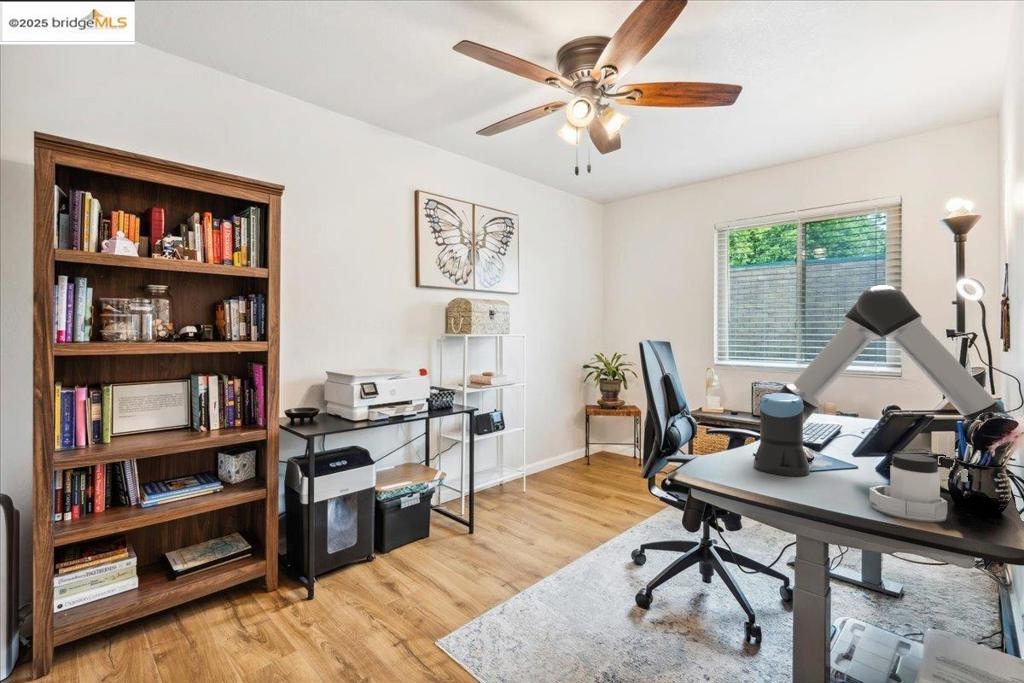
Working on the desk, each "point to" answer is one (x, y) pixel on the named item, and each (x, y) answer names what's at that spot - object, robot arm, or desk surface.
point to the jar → (915, 478)
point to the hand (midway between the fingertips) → (927, 468)
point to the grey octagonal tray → (906, 506)
